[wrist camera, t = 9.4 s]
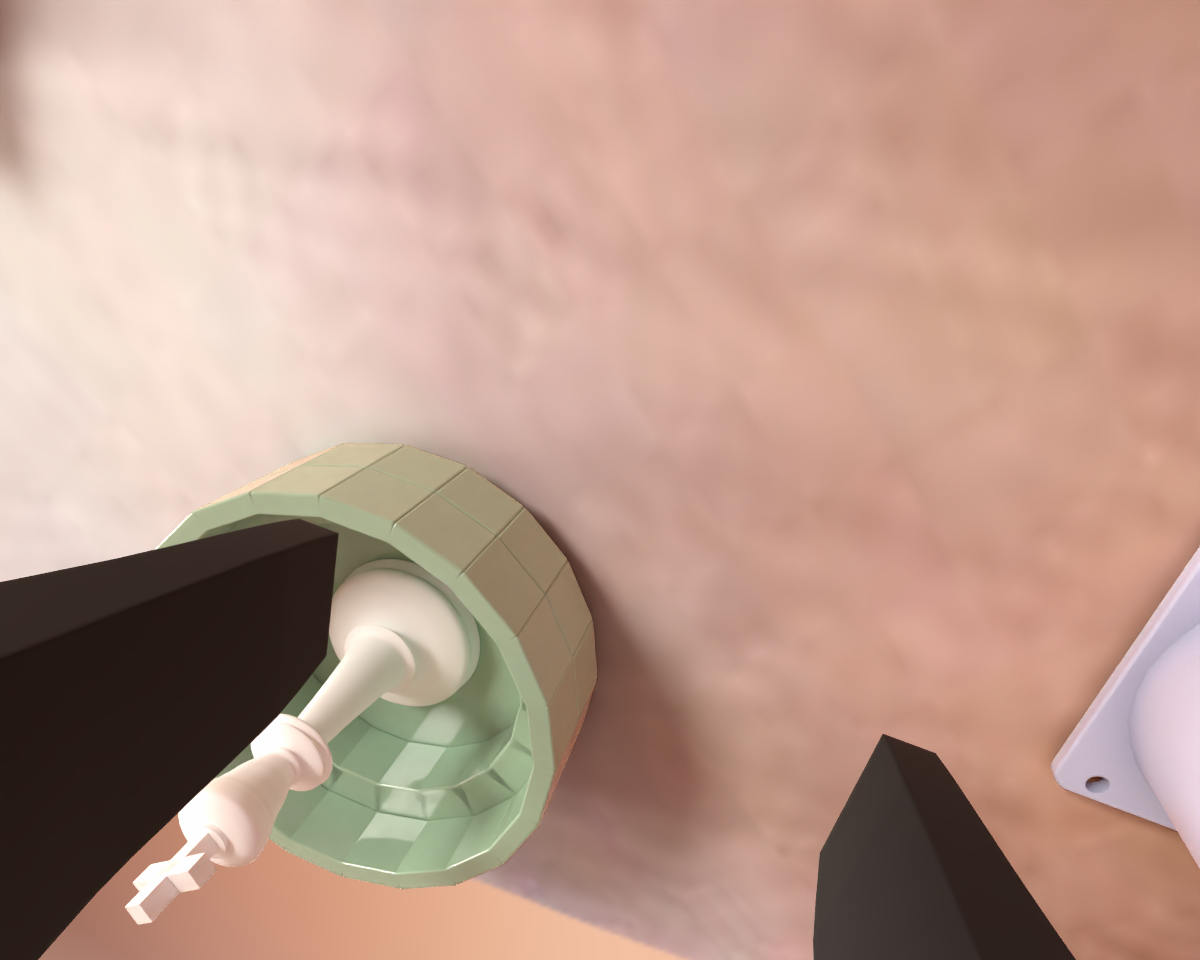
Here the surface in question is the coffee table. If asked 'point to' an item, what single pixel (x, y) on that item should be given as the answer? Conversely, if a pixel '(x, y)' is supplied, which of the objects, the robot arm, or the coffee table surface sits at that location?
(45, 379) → the coffee table surface
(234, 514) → the bowl
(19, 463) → the coffee table surface
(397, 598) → the chess piece
